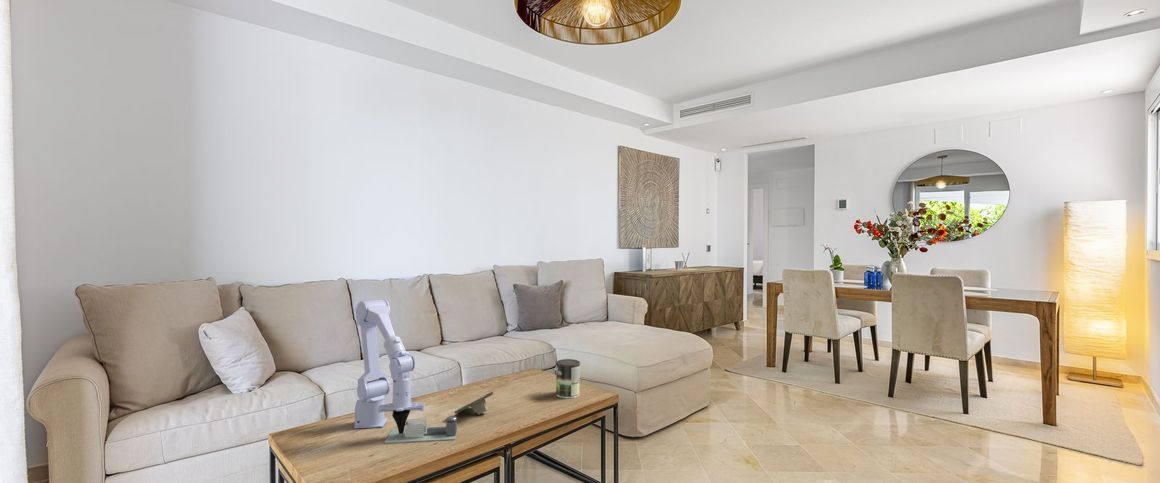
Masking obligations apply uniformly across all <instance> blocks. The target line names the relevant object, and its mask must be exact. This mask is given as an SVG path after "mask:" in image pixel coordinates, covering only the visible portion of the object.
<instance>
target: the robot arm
mask: <svg viewBox="0 0 1160 483" xmlns="http://www.w3.org/2000/svg"><path fill="white" fill-rule="evenodd" d="M390 314H391V307H390V303H389V301H388V300H387V299H386V298H382V299H375V300H365V301H364V300H361V301H359V302H358V303H357V305H356V308H355V316H356V324H357V326H360V335H361V345H362V347H361V348H362V355H363V366H364V373H363V374H362V375H361V376H360V377H358V379H357V388H356V394H357V397H358V399H356V400H357V401H356V402H355V406H354V426H353V429H368V428H369V429H371V428H372V429H373V428H374V429H375V428H383V427H384V425H385V424H386V423H387V421H388V419H389V418H388V417H385V412H392V413H391V414H392V415H391V416H392V418H393V419H394V421H395V424H396V428H398V431H399V434H403V432H404V428H405V424H406V422H407V420H408V417H409V415H410V413H411V411H412V412H414V411H421V412H423V411H425V407H426V406H425V405H426V404H425V402H412V371H414V369H415V366H416V364H415V363H416V362H415V358H414V355H412V354H411V353H410V352H409V351H407V350H406V347H405V346H404V343H403V342H402V339H401V337H400V336H397V335H396V334H395V331H394V328H393V325H392V321H391V318H390ZM377 328H378V330H379V331H380V333H381V335H382V337H383V339H384V342H383V347H384V349H385V352H386V355H387V356H388V359H389V361H390V362H389V365H388V368H389V369H388V370H389V373H390V378H391V380H392V403H387V404H386V403H385V402H386V401H385V400H386V399H387V395H388V394H389V393H390V390H391V383H390V381H389V380H390V379H389V376H388V374H387V372H384V371H382V370H381V364H380V363H381V362H380V352H379V345H378V344H379V343H378V334H377V333H378V332H377Z"/></svg>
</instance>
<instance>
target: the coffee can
mask: <svg viewBox="0 0 1160 483" xmlns="http://www.w3.org/2000/svg"><path fill="white" fill-rule="evenodd" d="M555 363H556V366H555V367H556V368H555V369H556V375H555V377H556V378H555V379H556V380H555V382H556V383H555V387H556V388H555V389H556V390H555V396H556V397H558V398H561V399H575V398H578V397H580V382H581V380H580V376H581V372H580V371H581V370H580V368H581V361H579V360H577V359H573V358H572V359H569V358H567V359H566V358H563V359H559V360H556V362H555Z"/></svg>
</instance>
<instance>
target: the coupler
mask: <svg viewBox="0 0 1160 483" xmlns="http://www.w3.org/2000/svg"><path fill="white" fill-rule="evenodd" d="M457 425H458V417H457V416H456V415H450V416H449V415H448V416H447V417H446V425H445V426H446V427H430V428H427V435H440V434H446V436H455V435H456V436H457V433H456V432H458V429H457Z"/></svg>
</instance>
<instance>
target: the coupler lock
mask: <svg viewBox="0 0 1160 483" xmlns="http://www.w3.org/2000/svg"><path fill="white" fill-rule="evenodd" d="M426 427H427V418H425V417H424V418H407V420H406V423H405V427H404V428H405V438H423V437H424V433H426Z"/></svg>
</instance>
